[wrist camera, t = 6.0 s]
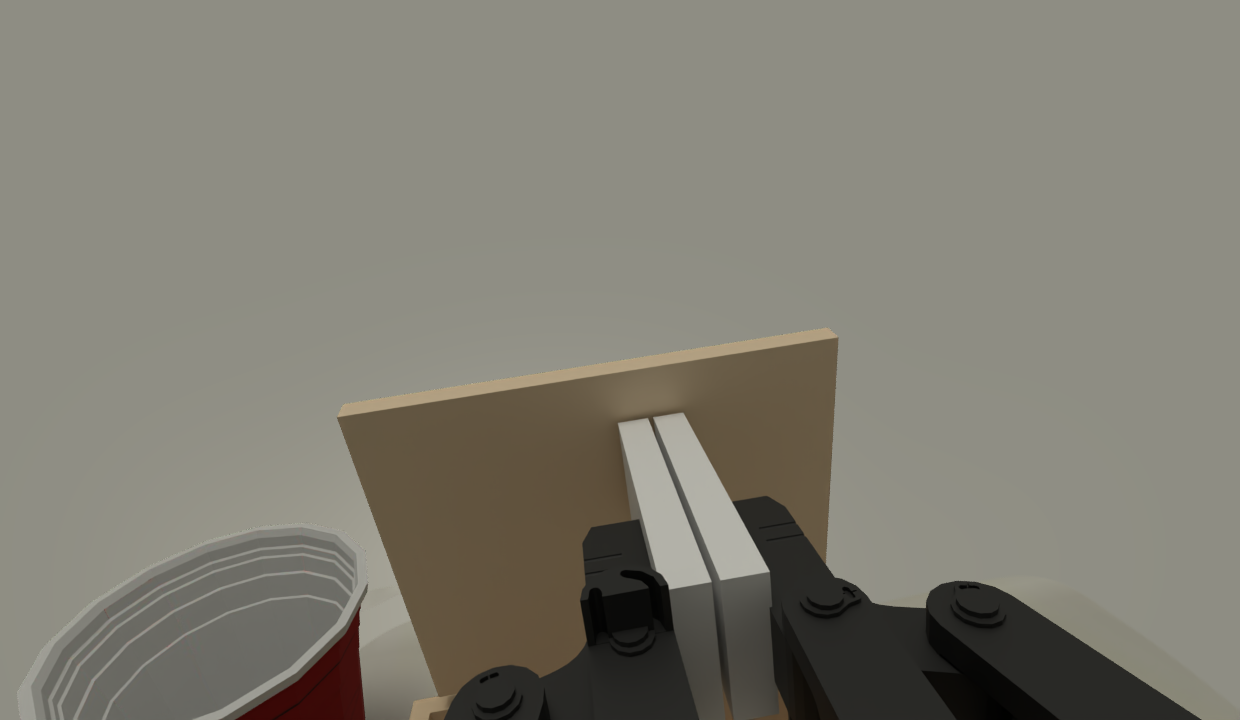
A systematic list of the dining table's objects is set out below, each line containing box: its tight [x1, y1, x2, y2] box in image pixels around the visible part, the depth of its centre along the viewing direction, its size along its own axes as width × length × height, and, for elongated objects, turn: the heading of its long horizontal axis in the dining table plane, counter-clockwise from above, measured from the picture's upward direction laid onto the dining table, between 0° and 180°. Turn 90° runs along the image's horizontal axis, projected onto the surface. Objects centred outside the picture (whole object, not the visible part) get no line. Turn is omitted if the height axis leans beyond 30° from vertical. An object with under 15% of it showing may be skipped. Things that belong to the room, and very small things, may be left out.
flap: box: [337, 328, 838, 697], centre depth 18 cm, size 12×1×10 cm, turn 97°
